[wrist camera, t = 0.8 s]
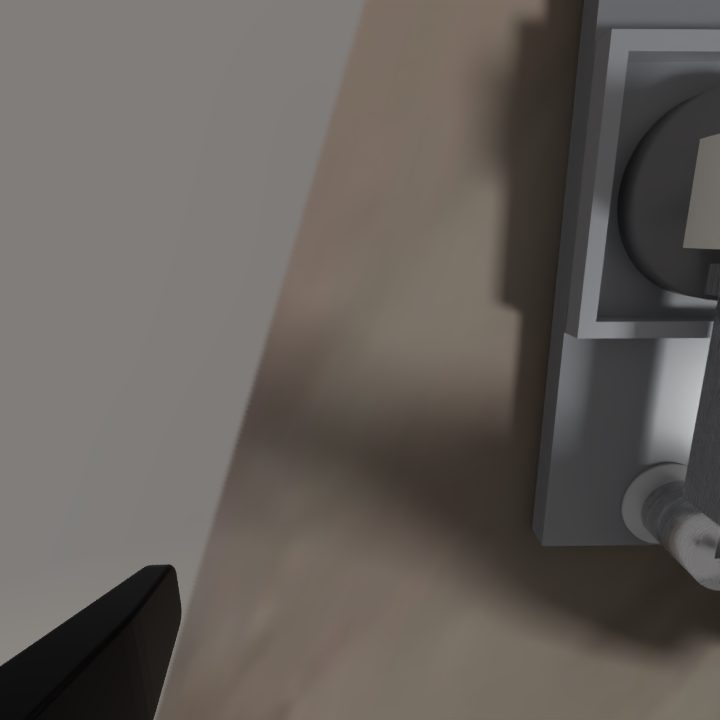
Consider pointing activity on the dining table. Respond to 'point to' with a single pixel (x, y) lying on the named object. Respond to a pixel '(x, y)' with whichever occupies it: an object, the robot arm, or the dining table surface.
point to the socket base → (620, 287)
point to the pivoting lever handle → (696, 478)
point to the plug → (675, 198)
